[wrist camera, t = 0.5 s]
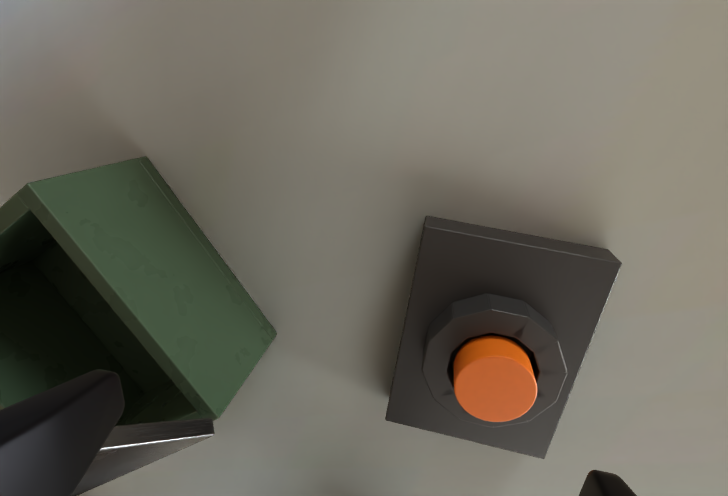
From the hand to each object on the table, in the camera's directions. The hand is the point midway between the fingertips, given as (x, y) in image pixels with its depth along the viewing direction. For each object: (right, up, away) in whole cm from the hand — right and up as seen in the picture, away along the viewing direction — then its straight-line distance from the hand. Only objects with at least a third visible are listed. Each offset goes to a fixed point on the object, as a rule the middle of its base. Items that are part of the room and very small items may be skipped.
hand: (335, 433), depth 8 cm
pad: (+7, -1, +16) cm, 17 cm away
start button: (+7, -2, +13) cm, 15 cm away
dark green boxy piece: (-13, +1, +19) cm, 23 cm away
